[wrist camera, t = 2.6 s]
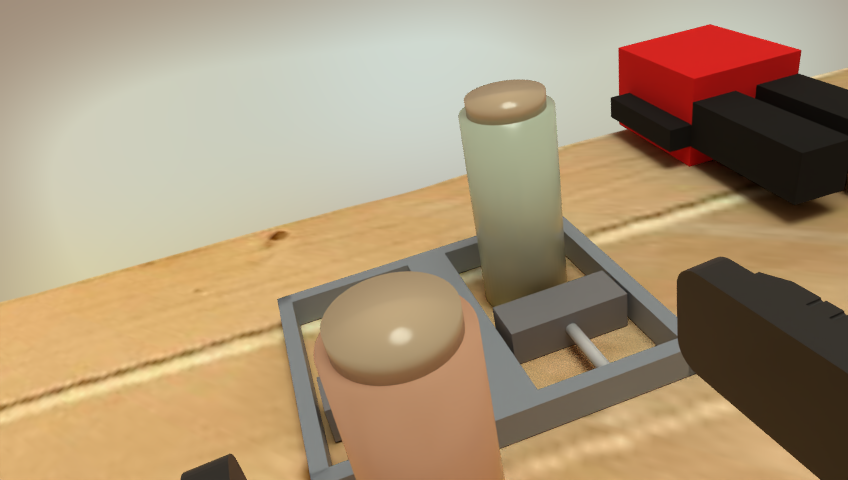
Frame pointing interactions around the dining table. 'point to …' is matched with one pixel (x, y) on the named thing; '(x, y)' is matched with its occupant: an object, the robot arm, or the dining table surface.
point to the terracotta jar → (408, 381)
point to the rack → (515, 343)
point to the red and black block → (736, 109)
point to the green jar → (514, 187)
